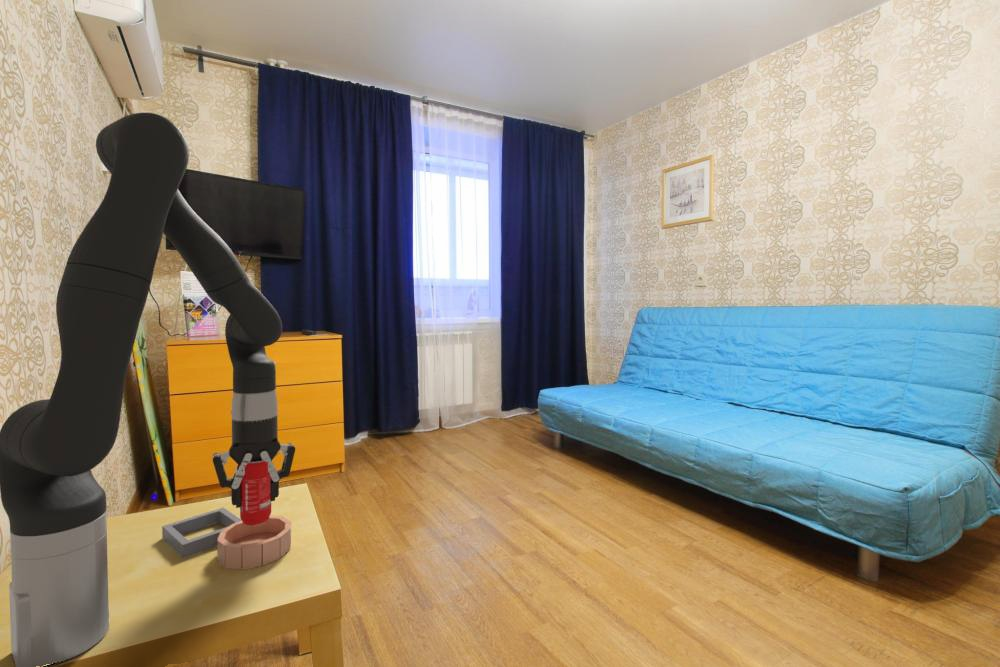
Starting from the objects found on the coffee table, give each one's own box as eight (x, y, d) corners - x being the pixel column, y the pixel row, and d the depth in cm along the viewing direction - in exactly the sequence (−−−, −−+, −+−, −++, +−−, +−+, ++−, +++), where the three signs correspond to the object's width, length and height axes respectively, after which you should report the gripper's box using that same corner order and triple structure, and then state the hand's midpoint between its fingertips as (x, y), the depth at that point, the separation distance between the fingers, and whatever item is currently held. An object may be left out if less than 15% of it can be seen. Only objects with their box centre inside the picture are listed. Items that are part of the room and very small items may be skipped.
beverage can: (247, 529, 81) (247, 464, 80) (235, 520, 84) (234, 458, 83) (276, 519, 85) (276, 457, 84) (263, 511, 88) (263, 451, 88)
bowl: (235, 577, 76) (235, 554, 76) (207, 553, 84) (207, 532, 83) (302, 548, 86) (302, 528, 86) (272, 528, 93) (272, 510, 93)
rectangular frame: (182, 558, 82) (182, 544, 82) (162, 538, 88) (162, 526, 88) (246, 534, 90) (246, 523, 90) (223, 518, 97) (223, 507, 97)
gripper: (209, 423, 76) (210, 520, 77) (299, 414, 84) (300, 502, 85) (209, 414, 83) (210, 503, 84) (293, 406, 90) (293, 488, 91)
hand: (255, 502), depth 84 cm, fingers closed on beverage can, 5 cm apart
